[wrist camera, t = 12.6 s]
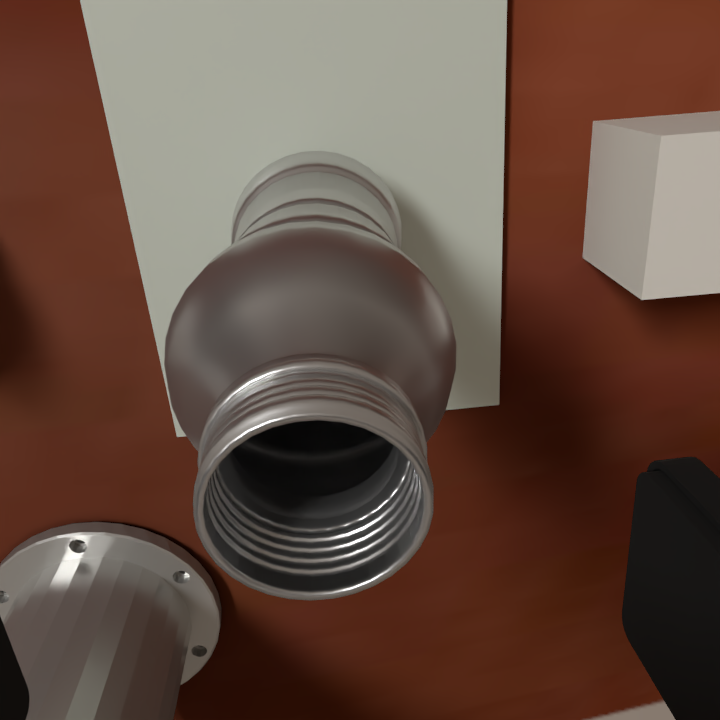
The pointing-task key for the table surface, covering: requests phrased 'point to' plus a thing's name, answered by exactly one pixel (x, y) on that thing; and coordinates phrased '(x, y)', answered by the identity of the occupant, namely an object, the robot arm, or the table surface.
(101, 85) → the sage mat
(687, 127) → the lettered cube
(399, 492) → the metal bottle
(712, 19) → the table surface
